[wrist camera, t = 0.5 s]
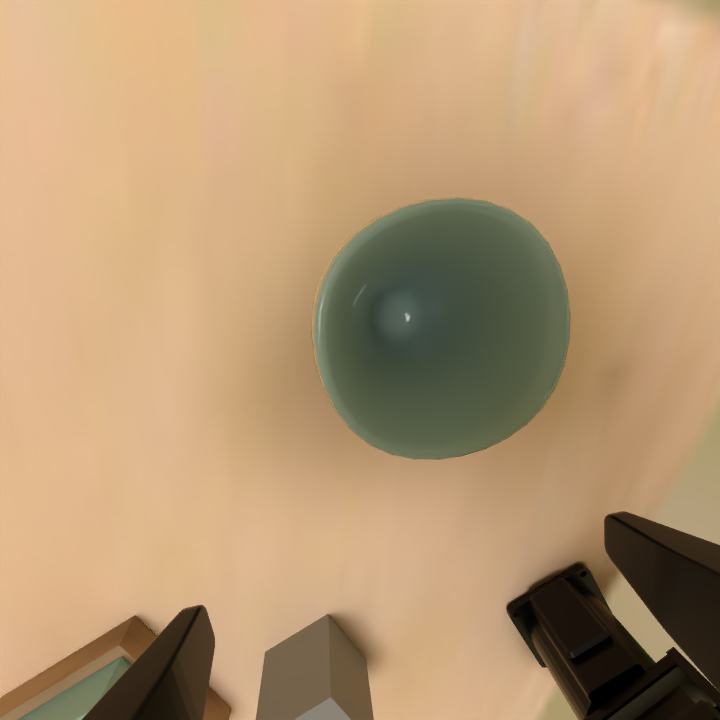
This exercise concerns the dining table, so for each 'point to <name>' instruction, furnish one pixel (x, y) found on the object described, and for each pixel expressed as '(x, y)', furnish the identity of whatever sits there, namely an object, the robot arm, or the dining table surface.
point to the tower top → (80, 695)
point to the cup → (441, 328)
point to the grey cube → (315, 677)
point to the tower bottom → (92, 672)
